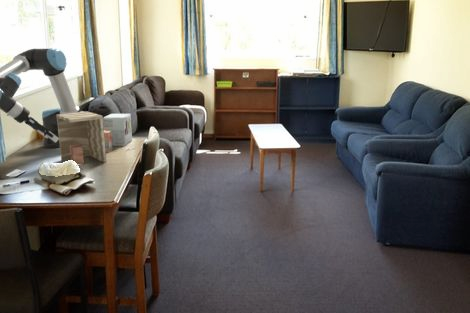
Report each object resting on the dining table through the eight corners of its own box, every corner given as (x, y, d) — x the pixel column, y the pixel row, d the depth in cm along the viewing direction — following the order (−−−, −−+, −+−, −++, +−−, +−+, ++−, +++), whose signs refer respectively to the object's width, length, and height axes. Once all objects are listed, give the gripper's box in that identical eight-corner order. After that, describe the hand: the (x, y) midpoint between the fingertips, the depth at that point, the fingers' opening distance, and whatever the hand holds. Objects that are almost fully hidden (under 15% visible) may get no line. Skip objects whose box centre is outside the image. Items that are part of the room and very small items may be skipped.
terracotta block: (71, 163, 250) (69, 145, 248) (80, 162, 253) (78, 144, 251) (74, 165, 246) (72, 147, 244) (83, 164, 249) (82, 145, 247)
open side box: (61, 160, 258) (56, 114, 251) (91, 155, 268) (87, 111, 262) (75, 167, 242) (70, 119, 236) (106, 162, 252) (102, 115, 246)
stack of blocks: (74, 152, 275) (72, 132, 272) (78, 150, 282) (76, 130, 278) (109, 152, 274) (107, 132, 271) (112, 150, 280) (111, 130, 277)
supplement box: (125, 146, 290) (123, 117, 286) (104, 146, 291) (102, 117, 286) (133, 140, 307) (131, 113, 302) (113, 140, 308) (111, 113, 303)
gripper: (6, 115, 234) (40, 140, 247) (20, 121, 215) (56, 148, 228) (16, 104, 236) (49, 129, 249) (30, 109, 217) (66, 136, 230)
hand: (52, 138), depth 239 cm, fingers open, 13 cm apart
